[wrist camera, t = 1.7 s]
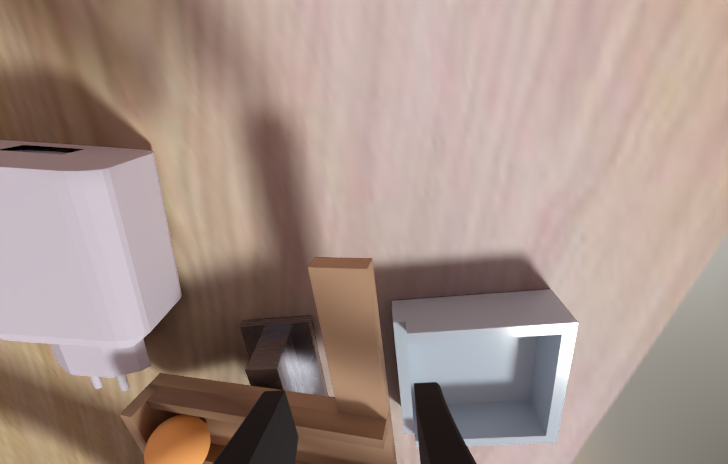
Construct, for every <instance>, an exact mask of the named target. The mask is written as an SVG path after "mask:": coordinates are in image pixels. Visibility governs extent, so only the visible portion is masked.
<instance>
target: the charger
mask: <svg viewBox="0 0 728 464" xmlns="http://www.w3.org/2000/svg"><path fill="white" fill-rule="evenodd" d="M20 145H32V146H47V147H61V148H76V149H83V150H79V151H75V152H71V153H66V152H52V151H37V150H23V149H21V150H16V151H3V150H0V339H3V340H8V341H20V342H34V343H47V344H50V346H51V348H52V351H53V353H54V355H55V358H56V360H57V362H58V365H60V366H61V367H62V368H63V369H64V370H66V371H67V372H68V373H69V374H71V375H79V376H90V379H91V381H92V384H93V387H94V388H95V389H100V388H101V387H102V386H103V383H102V380H101V377H106V378H113V377H117V380H118V383H119V386H120V389H121V390H122V391H126V390H128V389H129V388H130V386H129V383H128V380H127V377H126V374H129V373H133V372H137V371H141V370H143V369H145V368H147V367H149V366H150V362H149V358H148V354H147V350H146V347H145V343H144V339H143V338H144V337H145V336H146V335H148V334H149V333H150V332H151V331H152V330H153V329H154V327H155V326H156V325H157V324H158V323H159V322H160V321H161V320H162V319H163V317H164V316H165V315H166V314H167V313H168V312H169V311H170V310H171V308H172V307H173V306H174V305H175V304H176V303H177V302H178V301H179V300H180V298H181V296H182V293H181V288H180V283H179V278H178V273H177V267H176V262H175V257H174V252H173V247H172V242H171V237H170V232H169V227H168V222H167V217H166V212H165V206H164V201H163V196H162V191H161V186H160V181H159V176H158V171H157V166H156V161H155V156H154V152H153V151H150V150H143V149H130V148H115V147H101V146H86V145H72V144H57V143H42V142H28V141H12V140H0V149H5V148H10V147H15V146H20Z"/></svg>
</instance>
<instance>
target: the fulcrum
mask: <svg viewBox="0 0 728 464" xmlns="http://www.w3.org/2000/svg"><path fill="white" fill-rule="evenodd" d="M240 329H241V332H242V335H243V338H244V341H245V344H246V347H247V350H248V353H249V356H250V361H249V363H248V365H247V368H246V370H245V371H246V374H247V377H248V379H249V382H250V385H251V386H257V387H264V388H271V389H278V390H285V391H293V392H300V393H307V394H314V395H321V396H328V393H327V388H326V384H325V379H324V375H323V370H322V366H321V361H320V357H319V352H318V348H317V343H316V339H315V334H314V330H313V325H312V321H311V316H300V317H285V318H271V319H257V320H243V322H242V324H241V326H240Z"/></svg>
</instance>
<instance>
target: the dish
mask: <svg viewBox="0 0 728 464" xmlns="http://www.w3.org/2000/svg"><path fill="white" fill-rule="evenodd" d="M392 315H393V328H394V338H395V348H396V358H397V368H398V378H399V388H400V398H401V408H402V418H403V428H404V434H408V433H415V443H416V448H419V442H418V433H417V420H416V406H415V393H414V383H428V382H436V383H438V384H439V385H440V387H441V390H442V393H443V396H444V399H445V401H446V404H447V406H448V408H449V411H450V413H451V415H452V417H453V419H454V422H455V424H456V426H457V428H458V430H459V432H460V434H461V436H462V438H463V440H464V442H465V444H466V446H486V445H512V444H539V443H557V438H558V432H559V427H560V421H561V416H562V410H563V405H564V399H565V394H566V388H567V383H568V377H569V372H570V366H571V361H572V355H573V350H574V344H575V339H576V333H577V328H578V321H577V320H576V319H575V318H574V317H573V315H572V314H571V313H570V312H569V310H568V309H567V308H566V307H565V306H564V304H563V303H562V302H561V301H560V300H559V298H558V297H557V296H556V295H555V293H554V292H553V291H552V290H551V289H545V290H532V291H518V292H504V293H490V294H476V295H463V296H449V297H435V298H421V299H408V300H394V301H392Z"/></svg>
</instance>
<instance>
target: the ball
mask: <svg viewBox="0 0 728 464" xmlns="http://www.w3.org/2000/svg"><path fill="white" fill-rule="evenodd" d="M209 448H210V432H209V429H208V427H207V425H206V423H205V422H204V421H203V420H202V419H200V418H199V417H197V416H192V415H186V414H181V415H176V416H173V417H171V418H169V419H167V420H166V421H164V422H163V423H161V424H160V425H159V426H158V427H157V428H156V429H155V430H154V432H153V433H152V434H151V436H150V438H149V439H148V442H147V444H146V447H145V452H144V464H202V463H203V462H204V460H205V459H206V457H207V454H208V451H209Z"/></svg>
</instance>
